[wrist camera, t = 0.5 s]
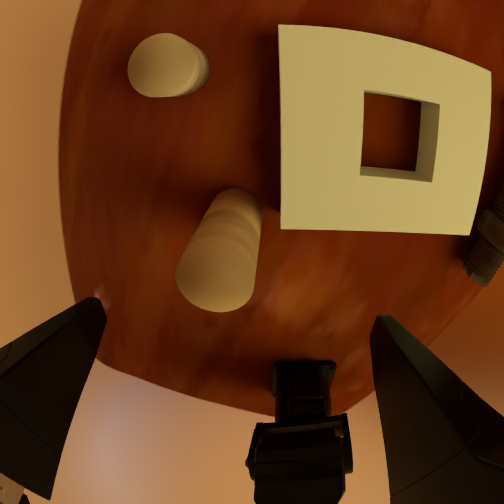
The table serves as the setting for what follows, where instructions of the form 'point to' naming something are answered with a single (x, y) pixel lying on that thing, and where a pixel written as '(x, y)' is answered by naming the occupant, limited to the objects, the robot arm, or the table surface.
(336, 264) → the table surface
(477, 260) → the bolt
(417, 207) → the board
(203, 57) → the short pin
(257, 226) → the long pin
